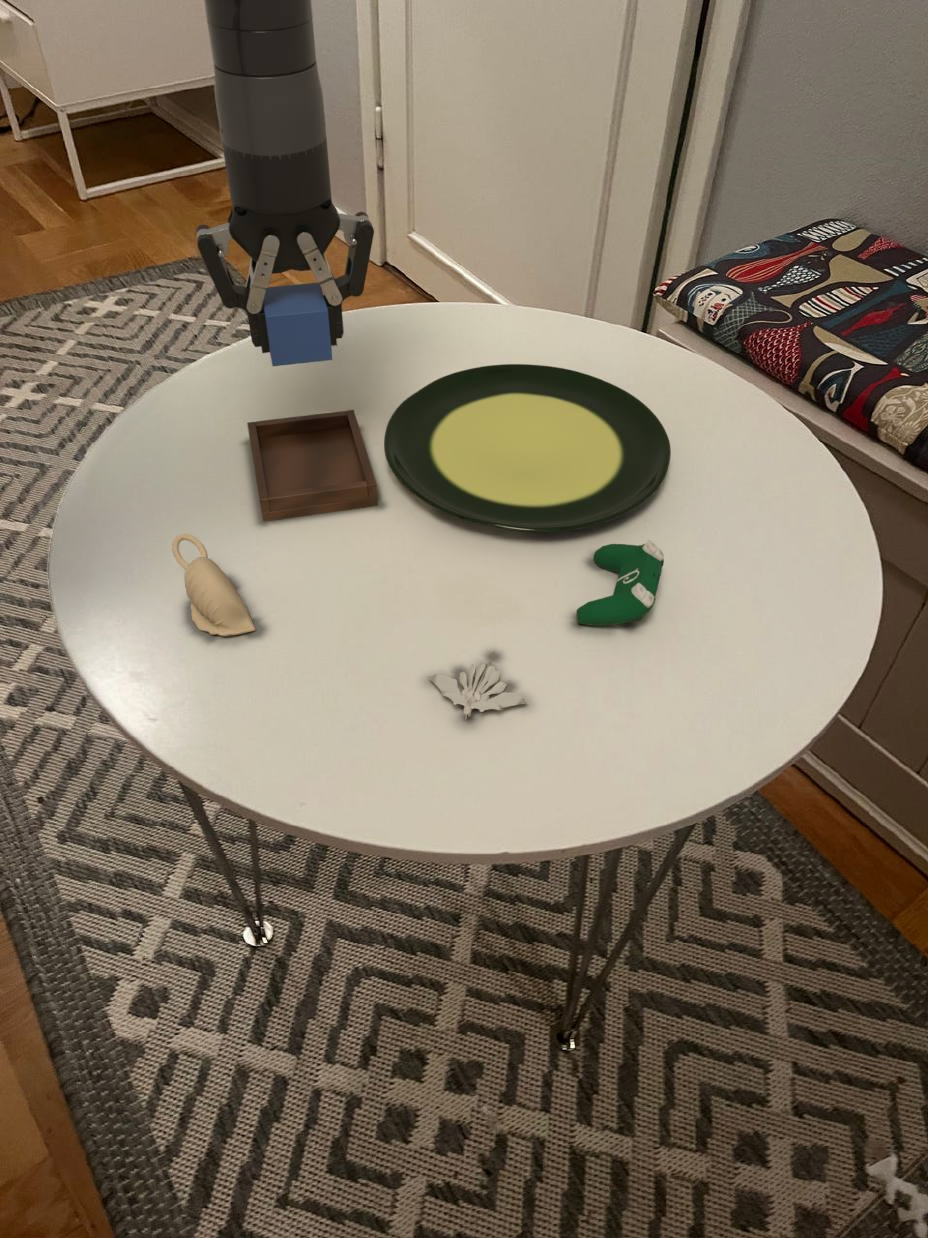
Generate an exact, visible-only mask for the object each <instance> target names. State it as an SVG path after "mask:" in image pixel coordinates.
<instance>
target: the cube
mask: <svg viewBox="0 0 928 1238" xmlns="http://www.w3.org/2000/svg"><path fill="white" fill-rule="evenodd" d="M263 308H264V313H265V320H266V327H267V334H268V341H269V348H270V352H269V355H270V361H271V366H272V367H283V366H291V365H300V364H301V365H302V364H307V363H308V364H310V363H317V362H319V363H320V362H329V361H333V350H332V346H331V337H330V326H329V315H328V309H327V305H326V302H325V299H324V292H323V290H322V288H321V286H320V285H319V284H318V282H310V283H299V284H288V285H278V286H276V285H275V286H268V289H267V290H266V293H265V297H264V301H263Z"/></svg>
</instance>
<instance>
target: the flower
mask: <svg viewBox="0 0 928 1238" xmlns="http://www.w3.org/2000/svg"><path fill="white" fill-rule="evenodd" d="M494 655H495V652H492V653H491V655H490V658H489V660H488V664H487V665H486V664H485V663H483V662H481V663H480V664H479V665H478V666H476V664H471V665H470V668H469V670H468V679H469V681H468V680H467V673H466V672H465V671H461V672H459V675H458V676H459V677H458V680H457V679H455V678H453V677H451V676H449V675H447V674H434V675H430V676H427V678H428V679H429V680H430V681H431V682H432V683H433V684H434V685H435V686H436V687H437V688H438V689H439V690H440V692H441V693H440V692H439V695H442V696H444V697H446V698H448V699H450V700H451V701H452V703H453V706H456V705H462V706H463V712H462V714H463V716H464V717H465V720H467V717H468V718H470V717H471V715H472V711H473V710H474V709H477V710H479V712H480V713H483V712H484V711H488V710H496V711H500V710H502V709H504V708H505V709H506V708H508V707H514V706H518V705H524V704H528V701H527V700H526V699H525V697H523V696H522V695H520V694H519V693H517V692H506V691H505V689H506V687H507V686H508V684H506V682H504V681H499V679H500V676H501V671H500V670H497V669H496V666H495V665H491V663H492V661H493V658H494ZM474 677H475V678H474ZM473 679H474V682H473ZM458 681H459V684H460V685H461V686H462V687H463V689H462V690H460V688H459V686H458V685H459V684H458ZM467 681H468V682H469V684H468V683H467ZM493 685H494V686H493ZM491 686H493V687H492V688H490V687H491ZM489 688H490V689H489ZM487 689H489V690H488V691H486V690H487ZM490 695H496V696H494V697H491V698H490Z"/></svg>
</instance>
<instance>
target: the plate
mask: <svg viewBox="0 0 928 1238" xmlns="http://www.w3.org/2000/svg"><path fill="white" fill-rule="evenodd" d="M383 449H384V456H385V459H386V462H387V464H388V466H389V468H390V470H391V471H392V472H393V474H394V475H395V476H396V478H397V479H398V481H399V482H400V483H401V484H402V485H403V486H404V487H405V488H406V489H407V490H408V491H409V492H410V493H411V494H413V495H414V496H415V497H416V498H418V499H419V500H421V501H423V502H424V503H425V504H427V505H429V506H430V507H432V508H434V509H435V510H438V511H440V512H442V513H444V514H447V515H448V516H451V517H454V518H456V519H459V520H463V521H466V522H470V523H473V524H477V525H483V526H487V527H492V528H498V529H502V530H509V531H514V532H515V531H517V532H524V533H525V532H526V533H554V532H565V531H572V530H579V529H584V528H589V527H593V526H596V525H601V524H604V523H606V522H610V521H612V520H614V519H617V518H619V517H622V516H624V515H626V514H628V513H630V512H631V511H633V510H635V509H637V508H638V507H640V506H641V505H643V504H644V503H645V502H646V501H648V500H649V499H650V498H651V497H653V495H654V494H655V493H656V492H657V490H659V488H660V487H661V485H662V483H664V480H665V479H666V476H667V473H668V470H669V466H670V462H671V454H672V452H671V451H672V449H671V442H670V438H669V435H668V433H667V431H666V429H665V427H664V425H663V424H662V422H661V421H660V419H659V418H658V416H657V415H656V414H655V413H654V412H653V411H652V410H651V408H649V407H648V406H647V405H646V403H645V404H644V402H642V401H641V400H639V398H638V397H636V396H634V395H633V394H632V393H629V392H628V391H626V390H624V389H623V388H621V387H619V386H618V385H615V384H613V383H610V382H609V381H606V380H603V379H601V378H599V377H595V376H593V375H590V374H587V373H584V372H581V371H577V370H572V369H569V368H564V367H559V366H552V365H551V366H550V365H541V364H530V363H529V364H526V363H504V364H503V363H502V364H492V365H491V364H490V365H484V366H478V367H473V368H467V369H464V370H460V371H455V372H452V373H449V374H447V375H444V376H442V377H439V378H437V379H435V380H433V381H431V382H429V383H428V384H426V385H425V386H424V387H422V388H420V389H418V390H416V391H415V392H414V393H412V394H411V395H410V396H408V397H407V398H406V399H404V400H403V401H402V402H401V403H400V404H398V407H396V409H394V412H392V414H391V417H390V418H389V420H388V422H387V424H386V427H385V432H384V439H383Z"/></svg>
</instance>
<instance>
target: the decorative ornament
mask: <svg viewBox="0 0 928 1238" xmlns="http://www.w3.org/2000/svg"><path fill="white" fill-rule="evenodd" d="M182 541H188V542H190V543H192V544H193V545H194V546H195V547H196V549H197V550H198V552H199V555H200V556H198V557H196V558H194V559H193V560H192V561H191V562H190V563H188V562H187V561H186V560H185V559H184V558H183V556H182V554H181V552H180V547H179V546H180V544H181V542H182ZM171 550H172V554H173V557H174V558H175V561H176V562H177V564H178V565H179V566H180V567H182V568H183V569H184V570H185V571H184V587H185V592H186V596H187V598H188V599H189V600H190V603H191V604H190V609H191V615H190V617H191V620H192V621H193V622H194V623H195V625H196V627H197V629H199V630H200V631H202V632H206V633H207V632H208V633H209V634H210V635H211V636H214V635H218V636H221V637H228V636H236V635H237V636H238V635H242V634H245V633H250V632H255V631H257V630H256V629H257V628H256V627H255V624H254V622H253V620H252V617H251V615H250V613H249V610H248V608H247V606H246V604H245V603H244V601H243V599H242V598H241V596H240V595H239V593H238V592H237V590H236V588H235V587H234V585H233V584H232V582H231V581H230V579H229V578H228V576H227V575H226V573H225V572H224V571H223V570H222V568H221V567H220V566H219V565H218V564H217V563H216V562H215V561H214V560H212V559H211V558H209V554H208V551H207V550H206V548H205V546H204V544H203V543H202V542H201V541H200V540H199V539H198V538H197V537H195V536H194V535H192V534H189V533H181V534H178V535H177V536H176V537H175V538H174V539H173V541H172V545H171Z"/></svg>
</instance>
